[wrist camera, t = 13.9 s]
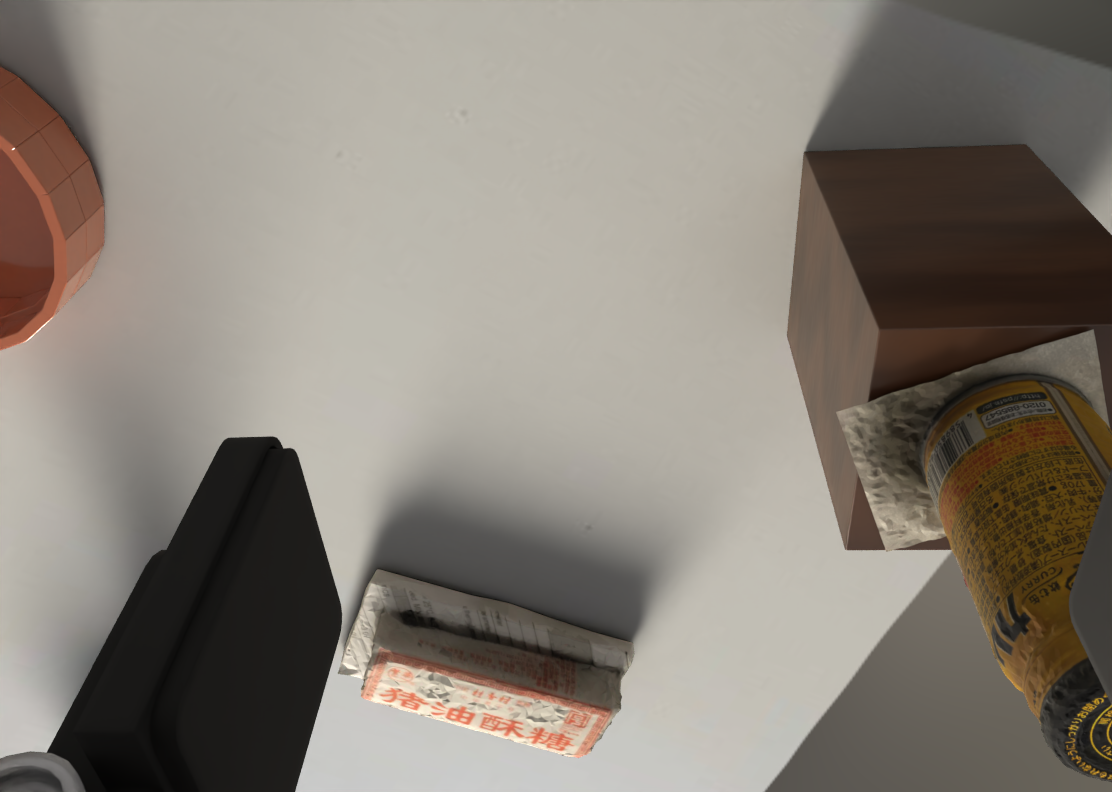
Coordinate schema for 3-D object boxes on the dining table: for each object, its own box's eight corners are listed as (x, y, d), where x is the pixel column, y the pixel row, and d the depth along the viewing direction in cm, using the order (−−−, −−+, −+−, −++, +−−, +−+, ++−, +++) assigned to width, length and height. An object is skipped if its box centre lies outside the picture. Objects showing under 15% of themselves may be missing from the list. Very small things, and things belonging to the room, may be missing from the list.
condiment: (1119, 485, 36) (1310, 780, 26) (884, 548, 38) (978, 841, 28) (1091, 325, 32) (1300, 597, 22) (833, 406, 34) (920, 685, 25)
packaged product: (639, 698, 61) (582, 785, 67) (638, 638, 65) (584, 724, 71) (357, 620, 58) (322, 718, 64) (374, 562, 62) (340, 658, 68)
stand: (803, 151, 46) (879, 329, 32) (1026, 143, 45) (1195, 322, 32) (786, 335, 51) (844, 550, 38) (984, 331, 51) (1112, 549, 37)
